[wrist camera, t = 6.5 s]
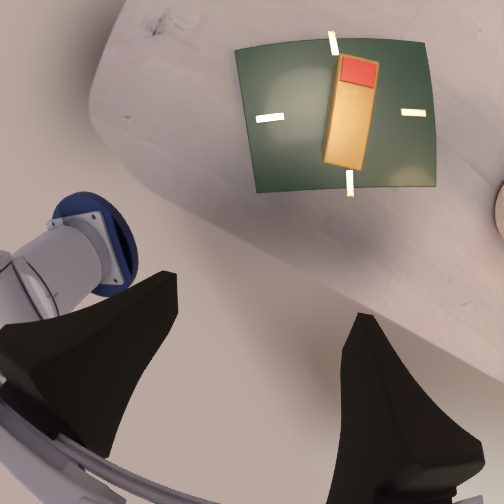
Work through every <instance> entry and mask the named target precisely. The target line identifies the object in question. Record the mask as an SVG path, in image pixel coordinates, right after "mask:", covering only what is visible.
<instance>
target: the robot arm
mask: <svg viewBox="0 0 504 504" xmlns="http://www.w3.org/2000/svg"><path fill="white" fill-rule="evenodd" d="M94 216H95V217H94ZM46 225H47V228H48V231H46V232H45V233H43V234H41V235H40V236H38V237H37V238H35V239H34V240H32V241H31V242H29V243H27V244H26V245H25V246H23V247H22V248H20V249H19V250H17V251H16V252H15V253H14V254H13V255H11V253H10V252H6V251H3V250H0V462H1V463H2V464H3V465H4V466H5V467H6V468H7V469H8V470H9V471H10V472H11V473H12V474H13V475H14V476H15V477H16V478H17V479H18V480H19V481H20V482H21V483H22V484H23V485H24V486H25V487H26V488H27V489H28V490H29V491H30V492H32V494H34V495H35V496H36V497H37V498H38V499H39V500H40V501H42V502H43V503H44V504H125V503H126V499H125V498H123V497H122V496H120V495H118V494H117V493H115V492H114V491H112V490H111V489H110V488H109V487H108V486H107V485H105V484H104V483H102V482H100V481H99V480H97V479H95V478H94V477H92V476H91V475H89V474H87V473H86V471H85V469H86V470H88V471H89V472H91V473H93V474H95V475H96V476H98V477H100V478H102V479H104V480H105V481H107V482H109V483H111V484H113V485H115V486H117V487H119V488H121V489H123V490H125V491H127V492H129V493H132V494H134V495H136V496H138V497H141V498H143V499H145V500H148V501H150V502H152V503H155V504H219V503H215V502H212V501H208V500H205V499H201V498H198V497H195V496H191V495H188V494H185V493H182V492H179V491H176V490H174V489H171V488H168V487H165V486H163V485H160V484H158V483H155V482H153V481H150V480H148V479H145V478H143V477H141V476H139V475H136V474H134V473H132V472H130V471H128V470H125V469H123V468H121V467H119V466H117V465H115V464H113V463H111V462H109V461H107V460H105V458H108V457H109V455H110V451H111V448H112V444H113V442H114V439H115V435H116V432H117V429H118V427H119V424H120V421H121V419H122V416H123V414H124V412H125V409H126V407H127V404H128V402H129V400H130V398H131V395H132V393H133V391H134V389H135V387H136V385H137V383H138V381H139V379H140V377H141V375H142V373H143V372H144V370H145V369H146V367H147V365H148V364H149V363H150V361H151V360H152V357H153V356H154V355H155V353H156V352H157V350H158V349H159V347H160V346H161V344H162V343H163V341H164V339H165V338H166V336H167V335H168V333H169V331H170V329H171V327H172V325H173V323H174V321H175V319H176V317H177V314H178V299H177V298H178V297H177V274H176V273H172V272H168V271H161V272H158V273H156V274H154V275H153V276H151V277H149V278H147V279H145V280H143V281H141V282H140V283H137V284H136V285H134V286H132V287H130V288H128V289H126V290H124V291H122V292H120V293H118V294H116V295H114V296H112V297H110V298H108V299H106V300H103V301H101V302H99V303H96V304H94V305H92V306H89V307H86V308H83V309H81V310H78V311H75V312H71V311H72V310H73V309H74V308H75V307H76V306H77V305H78V304H79V303H80V302H81V301H82V300H83V299H84V298H85V297H86V296H87V295H88V294H89V293H90V292H91V291H92V290H93V289H94V288H95V287H96V286H97V285H98V284H113V285H122V284H123V283H124V282H125V280H124V277H123V274H122V272H121V269H120V266H119V263H118V260H117V258H116V255H115V252H114V249H113V246H112V243H111V240H110V237H109V234H108V231H107V227H106V224H105V221H104V218H103V214H102V213H101V211H92V212H87V213H81V214H76V215H71V216H66V217H61V218H56V219H51V220H49V221H47V222H46ZM70 312H71V313H70ZM340 372H341V373H340V375H341V376H340V377H341V433H340V440H339V447H338V454H337V459H336V465H335V470H334V475H333V479H332V483H331V488H330V491H329V495H328V499H327V502H326V504H452V497H454V496H456V494H457V490H456V487H457V486H458V485H460V484H462V483H463V482H465V481H467V480H468V479H470V478H471V477H473V476H474V475H476V474H477V473H479V472H480V470H482V469H483V467H484V465H485V459H484V453H483V449H482V443H481V441H479V440H478V439H476V438H475V437H473V436H472V435H471V434H469V433H468V432H467V431H465V430H464V429H462V428H461V427H460V426H459V425H458V424H457V423H455V422H454V421H453V420H452V419H451V418H450V417H449V416H447V415H446V414H445V413H444V412H443V411H442V410H441V409H440V408H439V407H438V406H437V405H436V404H435V403H434V402H433V401H432V400H431V398H430V397H429V396H428V395H427V394H426V393H425V392H424V391H423V389H422V388H421V387H420V386H419V384H418V383H417V382H416V381H415V379H414V378H413V377H412V376H411V374H410V373H409V371H408V370H407V368H406V367H405V365H404V364H403V363H402V361H401V360H400V358H399V357H398V355H397V354H396V352H395V350H394V349H393V347H392V346H391V344H390V342H389V341H388V339H387V337H386V336H385V334H384V332H383V331H382V329H381V327H380V326H379V324H378V322H377V321H376V319H375V318H374V316H373V315H369V314H364V313H358V315H357V317H356V319H355V322H354V324H353V326H352V329H351V331H350V334H349V336H348V338H347V340H346V343H345V345H344V347H343V349H342V360H341V371H340ZM453 504H483V497H482V495H479V496H475V497H472V498H468V499H465V500H461V501H458V502H455V503H453Z"/></svg>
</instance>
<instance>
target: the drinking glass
mask: <svg viewBox="0 0 504 504" xmlns="http://www.w3.org/2000/svg"><path fill="white" fill-rule="evenodd" d="M495 221H496V225H497V228H498V230H499V233H500V234H501V236H502V237H503V238H504V185H503V186H502V188H501V190H500V192H499V194H498V197H497V200H496V205H495Z"/></svg>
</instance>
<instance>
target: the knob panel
mask: <svg viewBox="0 0 504 504" xmlns="http://www.w3.org/2000/svg"><path fill="white" fill-rule="evenodd" d="M328 37H329V39H316V40H303V41H293V42H284V43H276V44H269V45H262V46H256V47H250V48H245V49H239V50H235V51H234V52H235V58H236V64H237V70H238V76H239V82H240V88H241V94H242V101H243V107H244V113H245V120H246V126H247V133H248V139H249V146H250V152H251V159H252V165H253V172H254V179H255V186H256V192H257V193H270V192H284V191H299V190H316V189H337V188H347V196H354V188H366V187H436V130H435V115H434V103H433V94H432V85H431V78H430V71H429V65H428V59H427V53H426V48H425V43H422V42H413V41H404V40H391V39H370V38H337V39H336V35H335V31H328ZM340 53H343V54H348V55H352V56H357V57H361V58H365V59H369V60H373V61H377V62H378V63H379V72H378V79H377V87H376V94H375V101H374V107H373V114H372V120H371V125H370V131H369V137H368V142H367V147H366V152H365V157H364V162H363V167H362V170H361V171H356V170H352V169H348V168H343V167H339V166H334V165H329V164H325V163H323V158H322V152H321V150H322V144H323V138H324V132H325V125H326V119H327V112H328V106H329V99H330V92H331V85H332V77H333V70H334V66H335V63H336V61H337V58H338V55H339V54H340Z"/></svg>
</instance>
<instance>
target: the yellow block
mask: <svg viewBox="0 0 504 504" xmlns="http://www.w3.org/2000/svg"><path fill="white" fill-rule="evenodd" d="M378 72H379V63H378V62H377V61H373V60H369V59H365V58H361V57H357V56H352V55H348V54H343V53H340V54H339V55H338V58H337V61H336V63H335V66H334V70H333V77H332V85H331V92H330V99H329V106H328V112H327V119H326V125H325V132H324V138H323V144H322V150H321V152H322V158H323V163H325V164H329V165H334V166H339V167H343V168H348V169H352V170H356V171H361V170H362V167H363V162H364V157H365V152H366V147H367V142H368V137H369V131H370V125H371V120H372V114H373V107H374V101H375V94H376V87H377V79H378Z"/></svg>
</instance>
